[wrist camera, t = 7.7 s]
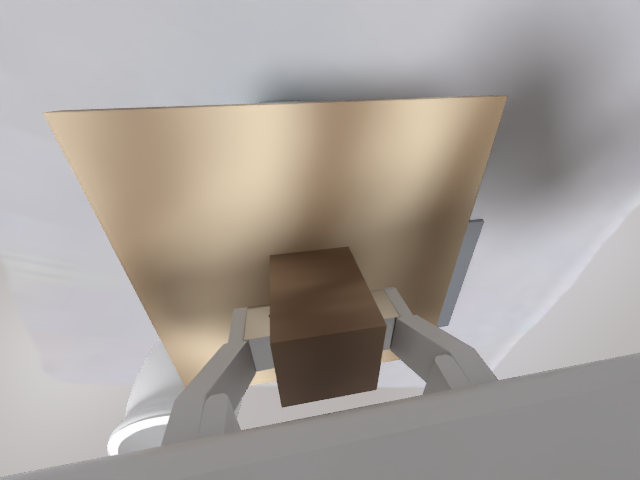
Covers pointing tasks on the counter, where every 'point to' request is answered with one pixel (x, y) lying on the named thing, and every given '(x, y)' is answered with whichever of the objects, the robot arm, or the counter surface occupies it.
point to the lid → (285, 220)
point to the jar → (149, 404)
